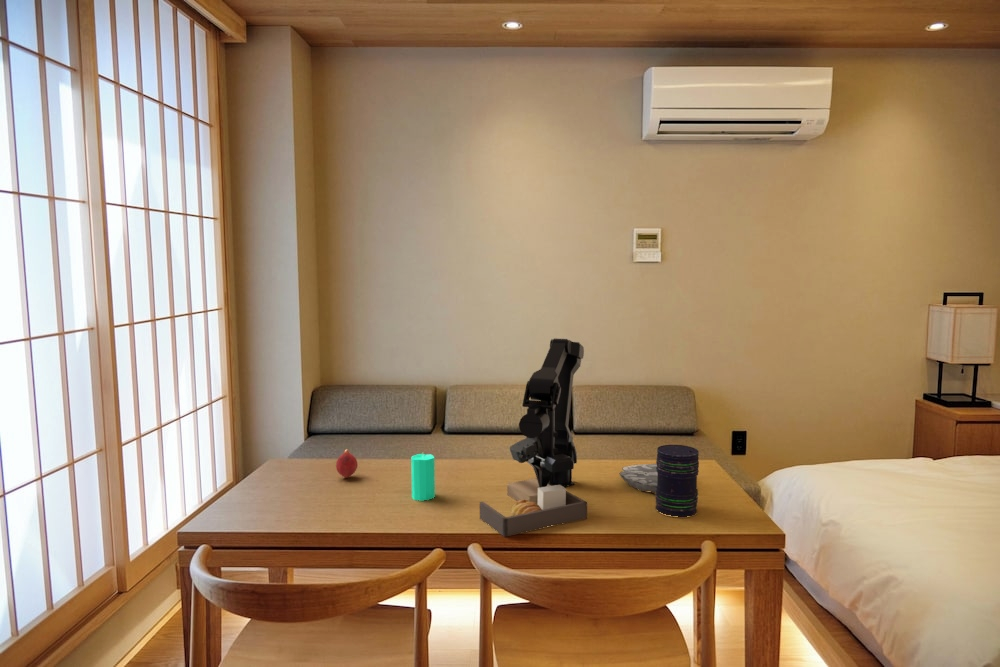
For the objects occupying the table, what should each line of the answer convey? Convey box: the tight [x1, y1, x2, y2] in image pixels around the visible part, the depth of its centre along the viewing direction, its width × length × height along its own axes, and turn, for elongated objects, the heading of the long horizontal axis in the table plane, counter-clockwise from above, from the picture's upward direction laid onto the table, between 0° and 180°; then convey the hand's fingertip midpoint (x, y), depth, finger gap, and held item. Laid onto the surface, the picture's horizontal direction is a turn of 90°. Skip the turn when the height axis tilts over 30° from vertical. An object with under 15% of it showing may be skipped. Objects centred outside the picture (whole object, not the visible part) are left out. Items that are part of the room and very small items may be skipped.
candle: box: [410, 453, 436, 502], centre depth 172 cm, size 6×6×12 cm
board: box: [506, 477, 551, 505], centre depth 172 cm, size 9×11×3 cm
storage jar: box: [655, 444, 700, 517], centre depth 163 cm, size 10×10×15 cm
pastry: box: [510, 499, 542, 516], centre depth 158 cm, size 9×7×4 cm
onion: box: [335, 449, 358, 479], centre depth 187 cm, size 6×6×8 cm
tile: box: [538, 485, 567, 510], centre depth 162 cm, size 6×6×3 cm
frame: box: [479, 490, 588, 538], centre depth 158 cm, size 22×12×4 cm, turn 118°
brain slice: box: [619, 463, 658, 494], centre depth 183 cm, size 20×17×3 cm
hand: (542, 489), depth 168 cm, fingers closed
